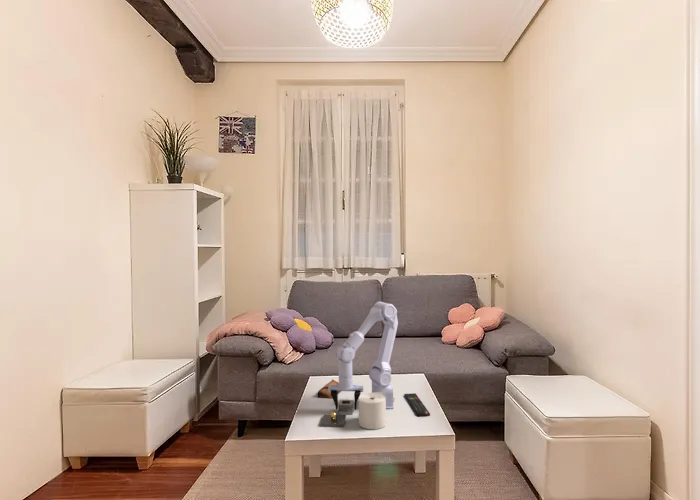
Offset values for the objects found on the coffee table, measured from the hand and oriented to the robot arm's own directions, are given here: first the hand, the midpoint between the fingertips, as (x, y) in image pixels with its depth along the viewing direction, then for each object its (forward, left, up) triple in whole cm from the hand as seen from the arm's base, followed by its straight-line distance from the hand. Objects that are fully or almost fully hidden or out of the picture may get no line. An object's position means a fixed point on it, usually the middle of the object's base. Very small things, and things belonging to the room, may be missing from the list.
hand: (346, 408), depth 175 cm
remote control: (-29, -9, -2) cm, 31 cm away
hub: (+4, +10, -1) cm, 11 cm away
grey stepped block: (0, 0, -1) cm, 1 cm away
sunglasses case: (+9, -24, -2) cm, 25 cm away
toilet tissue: (-11, +10, -2) cm, 15 cm away
